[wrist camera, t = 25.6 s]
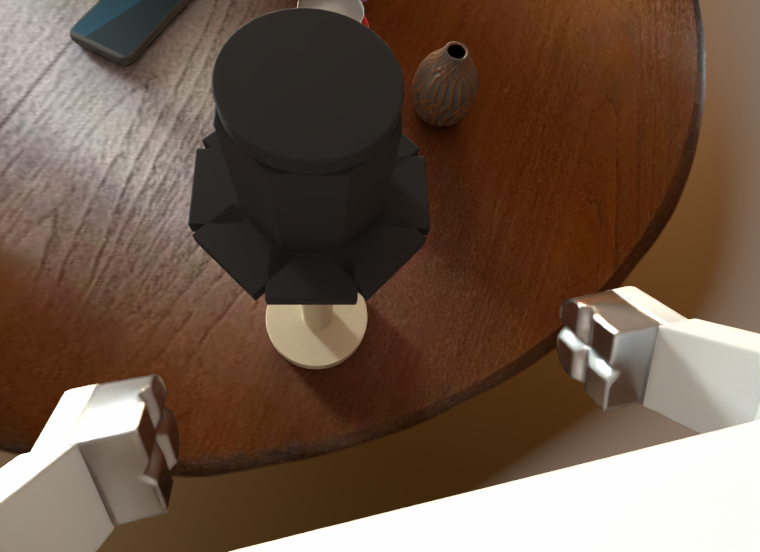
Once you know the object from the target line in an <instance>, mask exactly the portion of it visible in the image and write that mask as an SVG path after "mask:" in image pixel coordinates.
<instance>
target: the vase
mask: <svg viewBox="0 0 760 552" xmlns="http://www.w3.org/2000/svg"><path fill="white" fill-rule="evenodd" d="M478 88H479V76H478V71H477V68H476V66H475V64H474V62H473V60H472V59H471V57H470V55H469V50H468V48H467V47H466V46H465V45H464V44H463V43H461V42H457V41H453V42H449V43H448V44H446V45H445V46H444V47H443V48H441V49H439V50H436V51H434V52H432V53H431V54H429V55H428V56H427V57H426V58H425V59H424V60H423V61H422V62H421V64H420V65H419V67H418V68H417V70H416V72H415V74H414V77H413V81H412V86H411V99H412V104H413V107H414V109H415V111H416V113H417V114H418V116H419V117H420V118H421V119H422V120H423V121H425V122H426V123H428V124H430V125H433V126H437V127H446V126H451V125H454V124H456V123H457V122H459V121H460V120H462V119H463V118H464V117H465V116H466V115H467V114H468V113H469V111H470V110H471V108H472V106H473V104H474V102H475V100H476V97H477V94H478Z"/></svg>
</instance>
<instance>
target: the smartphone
mask: <svg viewBox="0 0 760 552" xmlns="http://www.w3.org/2000/svg"><path fill="white" fill-rule="evenodd" d="M189 1H190V0H99V1H98V2H97V3H96V4H95V5H94V6H93V7H92V8H91V9H90V10H89V11H88V12H87V13H86V14H85V15H84V16H83V17H82V18H81V19H80V20H79V21H78V22H77V23H76V24H75V25H74V26H73V27H72V28H71V30H70V36H71V38H72V40H73V41H75V42H76V43H77V44H79V45H81V46H83V47H85V48H87V49H90V50H92V51H94V52H96V53H98V54H100V55H102V56H104V57H106V58H108V59H110V60H112V61H114V62H116V63H119V64H122V65H128V64H131V63H132V62H134V61H135V60H136V59H137V58H138V56H139V55H140V54H141V53H142V52H143V51H144V50H145V49H146V48H147V47H148V46H149V44H150V43H151V42H152V41H153V40H154V39H155V38H156V37H157V36H158V35H159V34H160V32H161V31H162V30H163V29H164V28H165V27H166V26H167V25H168V24H169V23H170V22H171V20H172V19H173V18H174V17H175V16H176V15H177V14H178V13H179V12H180V11H181V10H182V8H183V7H184V6H185V5H186V4H187V3H188V2H189Z"/></svg>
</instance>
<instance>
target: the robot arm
mask: <svg viewBox="0 0 760 552" xmlns="http://www.w3.org/2000/svg"><path fill="white" fill-rule="evenodd" d="M559 318H560V320H561V321H562V322H563V324H564V325H565V326H564V327H563V329H562V330H561V331H560V333H559V334H558V336H557V353H558V357H559V361H560V363H561V365H562V367H563V368H564V370H565V371H566V372H567V373H568V374H569V375H570V377H571V378H574V379H576V380H579V381H581V382H584V383H585V385H584V391H585V392H586V393H587V394H588V395H589V396H590V397H591V398H592V399H593V400H594V401H595V402H596V403H597V404H598V406H599V407H600V408H601V409H602V410H603V411H609V410H614V409H619V408H624V407H629V406H634V405H639V404H643V406H645V407H647V408H649V409H651V410H653V411H655V412H657V413H659V414H661V415H663V416H665V417H667V418H669V419H671V420H673V421H675V422H677V423H680V424H681V425H683V426H685V427H687V428H689V429H692V430H693V431H695V432H698V433H700V435H696V436H692V437H688V438H684V439H680V440H676V441H672V442H668V443H664V444H660V445H656V446H652V447H648V448H644V449H640V450H636V451H632V452H628V453H624V454H620V455H616V456H612V457H608V458H604V459H600V460H596V461H592V462H588V463H584V464H580V465H576V466H572V467H568V468H564V469H560V470H555V471H552V472H547V473H543V474H540V475H535V476H531V477H527V478H523V479H520V480H515V481H511V482H507V483H504V484H499V485H496V486H491V487H487V488H483V489H479V490H475V491H471V492H467V493H463V494H459V495H455V496H451V497H446V498H443V499H438V500H435V501H430V502H426V503H422V504H418V505H414V506H410V507H406V508H402V509H398V510H394V511H390V512H386V513H382V514H378V515H374V516H370V517H366V518H362V519H358V520H354V521H350V522H346V523H342V524H338V525H334V526H330V527H326V528H322V529H318V530H314V531H310V532H306V533H302V534H298V535H294V536H290V537H286V538H282V539H278V540H274V541H270V542H266V543H262V544H258V545H254V546H250V547H246V548H242V549H238V550H234V551H230V552H760V334H759V333H754V332H750V331H746V330H742V329H737V328H733V327H729V326H725V325H720V324H716V323H712V322H708V321H703V320H699V319H690V320H688V319H686V318H685V317H683V316H682V315H680V314H678V313H677V312H675V311H674V310H672V309H670V308H669V307H667V306H665V305H664V304H662V303H661V302H659V301H657V300H656V299H654V298H652V297H651V296H649V295H647V294H646V293H644V292H643V291H641V290H639V289H638V288H636V287H631V286H626V287H621V288H617V289H612V290H608V291H604V292H599V293H595V294H590V295H585V296H581V297H576V298H571V299H566V300H564V301H563V303H562V305H561V307H560V314H559ZM166 395H167V391H166V388H165V385H164V383H163V380H162V378H161V377H160V376H159V375H158V374H155V375H149V376H143V377H137V378H131V379H125V380H119V381H113V382H107V383H101V384H94V385H88V386H83V387H78V388H73V389H70V390H68V391H66V392H65V393H64V394H63V396H62V398H61V399H60V401H59V403H58V405H57V406H56V408H55V410H54V411H53V413H52V415H51V417H50V418H49V420H48V422H47V424H46V425H45V427H44V429H43V431H42V432H41V434H40V436H39V438H38V439H37V441H36V443H35V445H34V446H33V448H32V450H31V452H30V453H26V454H21V455H19V456H17V457H16V458H15V459H13V460H12V461H10V462H9V463H8V464H6V465H5V466H3V467H2V468H1V469H0V552H96V551H97V550H98V548H99V547H100V546H101V545H102V543H103V542H104V541H105V540H106V538H107V537H108V536H109V535H110V533H111V532H112V531H113V530H114V527H113V526H116V525H120V524H123V523H127V522H131V521H135V520H139V519H143V518H147V517H150V516H155V515H158V514H162V513H166V512H167V510H168V505H169V500H170V495H171V490H172V485H173V480H172V477H171V474H170V471H169V470H170V469H171V468H172V467H173V466H174V465H175V464H176V463H177V459H178V453H179V433H178V427H177V422H176V419H175V415H174V412H173V411H171V410H170V409H168V408H167V407H165V406H164V403H165V399H166Z"/></svg>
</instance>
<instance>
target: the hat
mask: <svg viewBox="0 0 760 552" xmlns="http://www.w3.org/2000/svg"><path fill="white" fill-rule="evenodd" d="M211 87H212V93H213V98H214V102H215V112H214V122H213V124H214V127H215V131H214V132H212V133H211V134H209V135H208V136H207V137H205V138H204V139H203V140H202V141H203V143H204V146H205V149H197V150H196V158H195V167H194V177H193V186H192V195H191V204H190V213H189V222H188V224H189V226H190V228H191V230H192V231H193V232H195V233H194V234H193V237H194V239H195V241H196V242H197V243H198V244H199V245H200V246H201V247H202V248H203V249H204V250H205V251H206V252H207V253H208V254H209V255H210V256H211V257H212V258H213V259H214V260H215V261H216V262H217V263H218V264H219V265H220V266H221V267H222V268H223V269H224V270H225V271H226V272H227V273H228V274H229V275H230V276H231V277H232V278H233V279H234V280H235V281H236V282H237V283H238V284H239V285H240V286H241V287H242V288H243V289H244V290H245V291H246V292H247V293H248V294H249V295H250V296H251V297H252V298H253V299H254V300H257V299H258V298H259V297H260V296H261V295H263V294H264V293H265V301H266V303H267V305H356V303H357V299H358V293H359V294H360V295H361V296H362V297H363V298H365V299H366V300H368V299H369V298H370V297H371V296H372V295H373V294H374V293H375V292H376V291H377V290H379V289H380V288H381V287H382V286H383V285H384V284H385V283H386V282H387V281H388V280H389V279H390V278H391V277H392V276H393V275H394V274H395V273H396V272H397V271H398V270H399V269H400V268H401V267H402V266H403V265H404V264H405V263H406V262H407V261H408V260H409V259H410V258H411V257H412V256H413V255H414V254H415V253H416V252H417V251H418V250H419V249H420V248H421V247H422V246H423V245H424V243H425V241H426V237H425V236H424V235H427V234H428V232H429V230H430V218H429V204H428V191H427V178H426V164H425V157H418V153H419V149H420V148H419V147H418V146H417V145H416V144H415V143H413V142H412V141H411V140H410V139H409V138H408V137H406V136H405V135H404V134H403V133H402V132H403V130H402V113H401V109H402V105H403V99H404V80H403V75H402V71H401V68H400V65H399V63H398V61H397V59H396V57H395V55H394V53H393V52H392V50H391V49H390V47H389V46H388V45H387V44H386V43H385V41H384V40H383V39H382V38H381V37H380V36H378V35H377V34H376V33H375V32H374V31H373V30H371V29H370V28H368V27H367V26H366V25H364V24H362V23H360V22H359V21H357V20H355V19H353V18H350V17H348V16H346V15H343V14H340V13H337V12H333V11H328V10H324V9H316V8H290V9H283V10H278V11H274V12H270V13H267V14H264V15H262V16H259V17H257V18H255V19H253V20H251V21H249V22H248V23H246V24H244V25H243V26H242V27H240V28H239V29H238V30H236V31H235V32H234V33H233V34H232V35H231V36H230V37H229V38H228V39H227V41H226V42H225V43H224V45H223V46H222V48H221V49H220V51H219V53H218V55H217V57H216V60H215V63H214V66H213V71H212V82H211Z"/></svg>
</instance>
